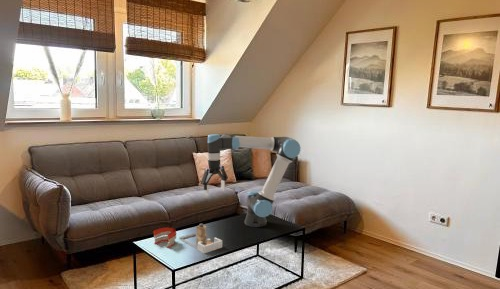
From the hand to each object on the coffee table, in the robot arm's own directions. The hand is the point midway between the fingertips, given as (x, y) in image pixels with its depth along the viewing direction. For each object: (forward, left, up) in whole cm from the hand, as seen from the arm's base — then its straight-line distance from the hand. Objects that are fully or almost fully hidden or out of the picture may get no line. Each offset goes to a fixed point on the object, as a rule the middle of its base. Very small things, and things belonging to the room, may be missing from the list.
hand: (215, 192), depth 229 cm
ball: (+16, +16, -25) cm, 34 cm away
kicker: (+16, +8, -27) cm, 32 cm away
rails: (+16, +3, -27) cm, 32 cm away
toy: (+30, -7, -27) cm, 41 cm away
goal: (+16, +16, -27) cm, 35 cm away
